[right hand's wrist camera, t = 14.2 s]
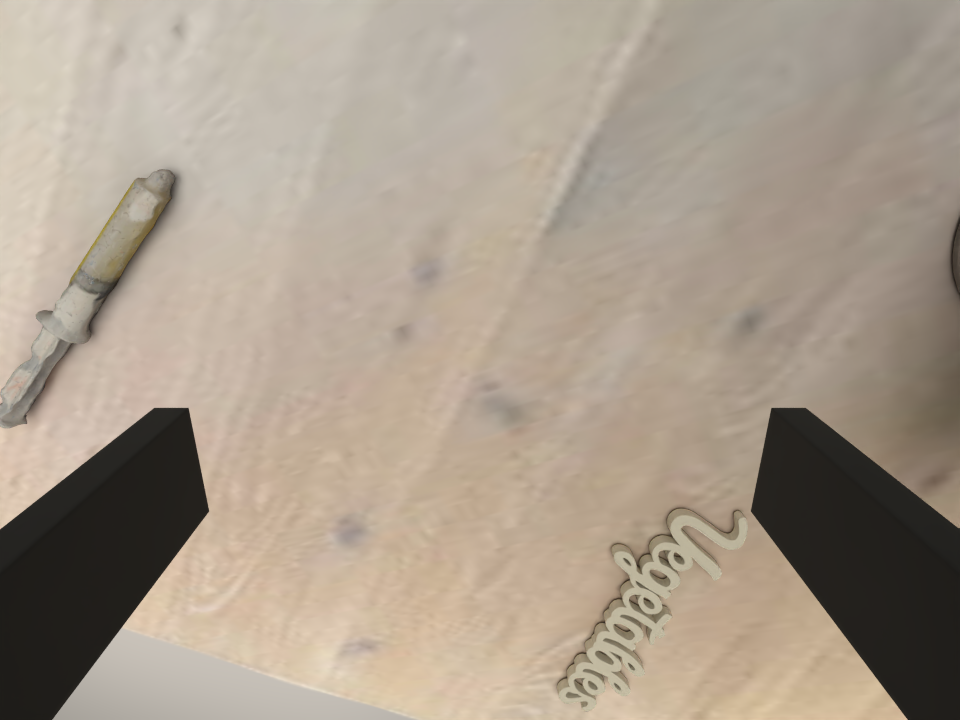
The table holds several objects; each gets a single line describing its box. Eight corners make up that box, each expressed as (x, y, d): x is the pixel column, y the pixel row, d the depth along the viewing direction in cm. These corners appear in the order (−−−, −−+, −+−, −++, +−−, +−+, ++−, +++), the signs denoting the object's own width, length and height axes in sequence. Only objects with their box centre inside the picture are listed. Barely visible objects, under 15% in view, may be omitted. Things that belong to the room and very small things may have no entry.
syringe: (158, 155, 39) (135, 155, 37) (203, 193, 40) (184, 196, 38) (-7, 391, 46) (-37, 405, 43) (34, 420, 47) (8, 435, 44)
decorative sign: (658, 484, 47) (759, 523, 49) (655, 477, 48) (754, 516, 50) (527, 692, 56) (615, 721, 57) (526, 684, 57) (613, 712, 58)
